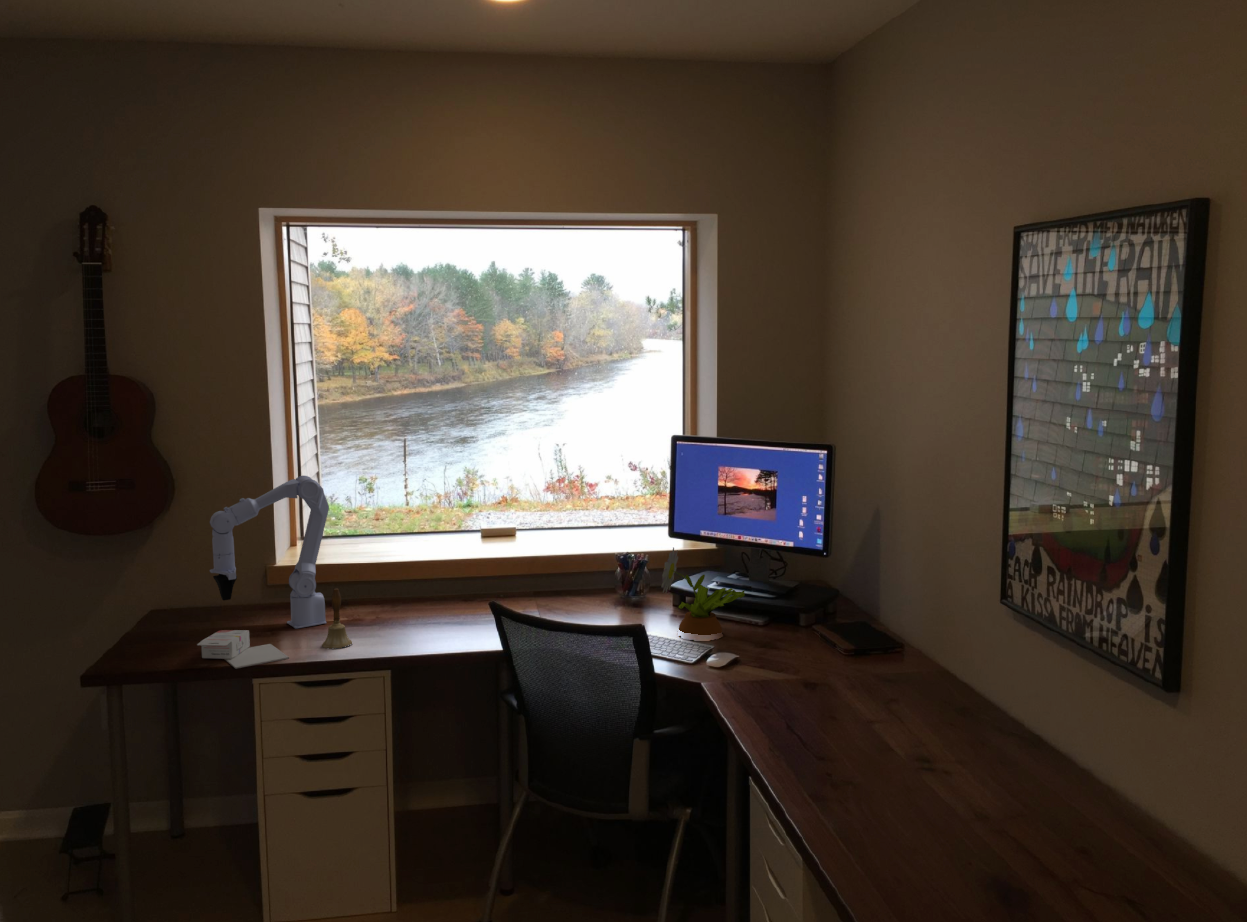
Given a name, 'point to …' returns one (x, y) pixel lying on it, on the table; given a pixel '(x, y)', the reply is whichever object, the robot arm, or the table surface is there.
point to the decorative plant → (698, 602)
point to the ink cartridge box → (225, 644)
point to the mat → (257, 656)
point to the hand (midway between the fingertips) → (226, 599)
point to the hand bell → (336, 626)
